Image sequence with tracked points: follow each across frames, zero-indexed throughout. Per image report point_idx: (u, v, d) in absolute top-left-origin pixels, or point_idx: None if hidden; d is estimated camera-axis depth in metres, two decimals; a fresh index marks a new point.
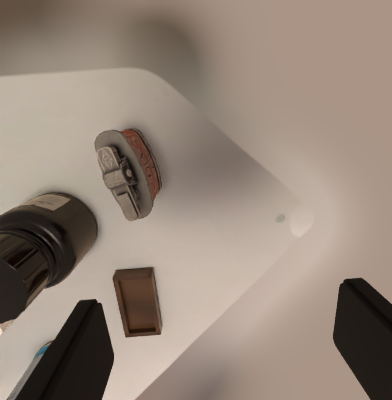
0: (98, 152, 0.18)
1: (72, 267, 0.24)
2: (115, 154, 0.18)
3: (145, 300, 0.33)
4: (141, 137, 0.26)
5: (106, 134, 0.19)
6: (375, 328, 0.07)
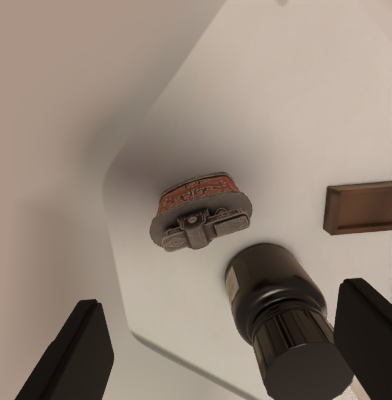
0: (167, 250, 0.16)
1: (306, 281, 0.21)
2: (170, 232, 0.16)
3: (373, 199, 0.25)
4: (168, 192, 0.24)
5: (154, 235, 0.18)
6: (375, 328, 0.07)
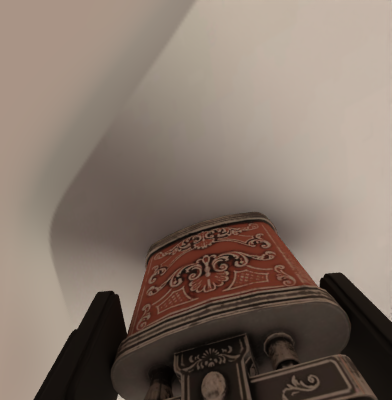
0: None
1: None
2: None
3: None
4: (160, 247, 0.14)
5: (122, 385, 0.08)
6: (349, 319, 0.08)
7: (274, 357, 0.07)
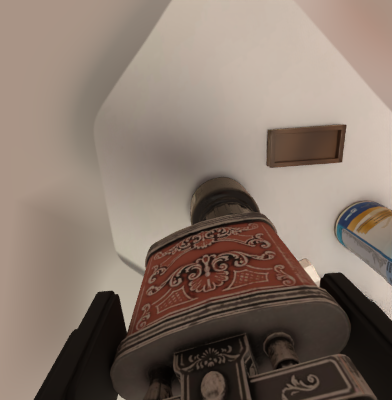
0: None
1: (242, 191, 0.29)
2: None
3: (302, 139, 0.33)
4: (160, 247, 0.14)
5: (121, 384, 0.08)
6: (349, 319, 0.08)
7: (274, 357, 0.07)
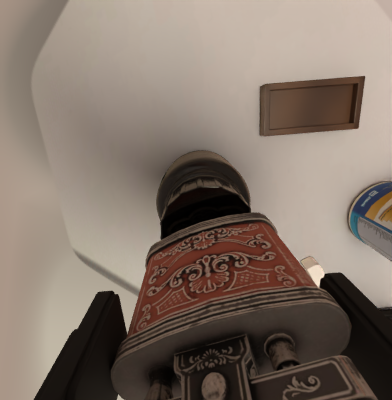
0: None
1: (224, 163, 0.21)
2: None
3: (306, 98, 0.25)
4: (160, 247, 0.14)
5: (122, 385, 0.08)
6: (349, 319, 0.08)
7: (274, 358, 0.07)
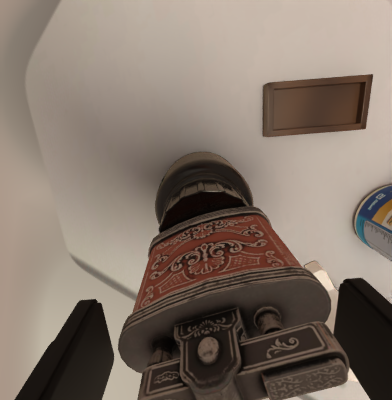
0: None
1: (226, 165, 0.20)
2: (158, 379, 0.07)
3: (311, 97, 0.24)
4: (162, 238, 0.15)
5: (128, 354, 0.09)
6: (375, 328, 0.07)
7: (262, 327, 0.08)
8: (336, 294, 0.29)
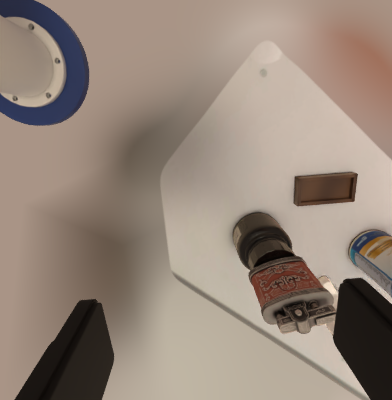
0: (282, 332, 0.25)
1: (278, 228, 0.38)
2: (284, 320, 0.25)
3: (322, 184, 0.42)
4: (257, 271, 0.33)
5: (265, 317, 0.27)
6: (375, 328, 0.07)
7: (312, 306, 0.26)
8: None
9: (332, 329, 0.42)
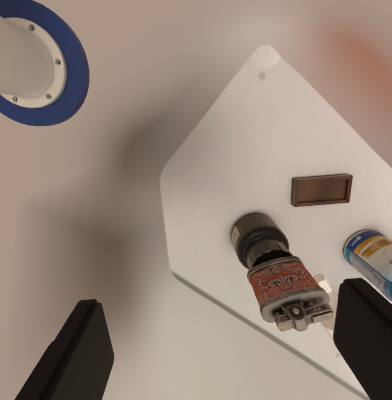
0: (280, 330, 0.26)
1: (276, 228, 0.39)
2: (282, 319, 0.26)
3: (319, 185, 0.43)
4: (255, 271, 0.34)
5: (264, 315, 0.28)
6: (375, 328, 0.07)
7: (309, 305, 0.27)
8: (333, 294, 0.48)
9: (327, 326, 0.43)
